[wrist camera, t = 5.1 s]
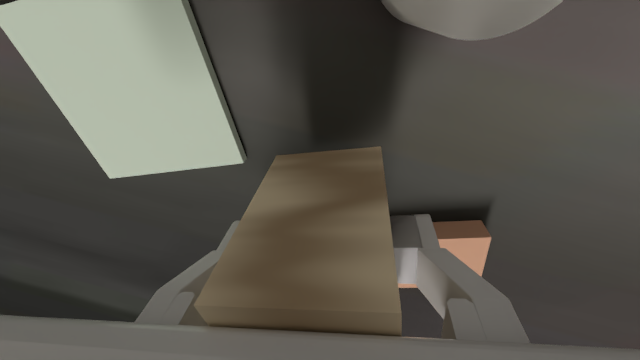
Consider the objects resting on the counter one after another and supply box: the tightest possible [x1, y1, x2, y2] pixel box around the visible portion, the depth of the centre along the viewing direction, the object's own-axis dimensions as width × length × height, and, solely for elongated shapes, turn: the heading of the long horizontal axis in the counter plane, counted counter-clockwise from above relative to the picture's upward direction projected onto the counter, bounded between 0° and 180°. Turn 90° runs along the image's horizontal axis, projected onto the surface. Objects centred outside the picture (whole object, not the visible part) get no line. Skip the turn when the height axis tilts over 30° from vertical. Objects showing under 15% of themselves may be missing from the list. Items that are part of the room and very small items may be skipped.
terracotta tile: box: [398, 220, 491, 288], centre depth 19 cm, size 7×5×2 cm
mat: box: [0, 0, 247, 179], centre depth 15 cm, size 10×10×1 cm
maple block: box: [194, 146, 401, 337], centre depth 10 cm, size 4×4×7 cm
